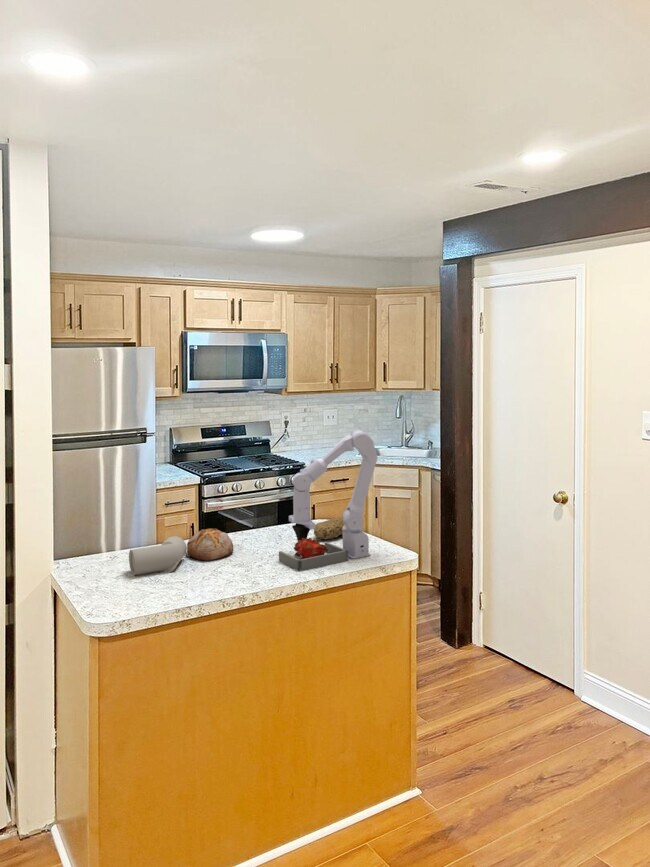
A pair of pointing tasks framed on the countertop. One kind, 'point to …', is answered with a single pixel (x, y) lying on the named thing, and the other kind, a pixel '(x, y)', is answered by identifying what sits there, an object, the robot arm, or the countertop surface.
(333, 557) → the box
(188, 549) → the bread
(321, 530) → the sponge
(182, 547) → the l-shaped cylinder
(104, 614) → the countertop surface
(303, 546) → the dragon fruit
